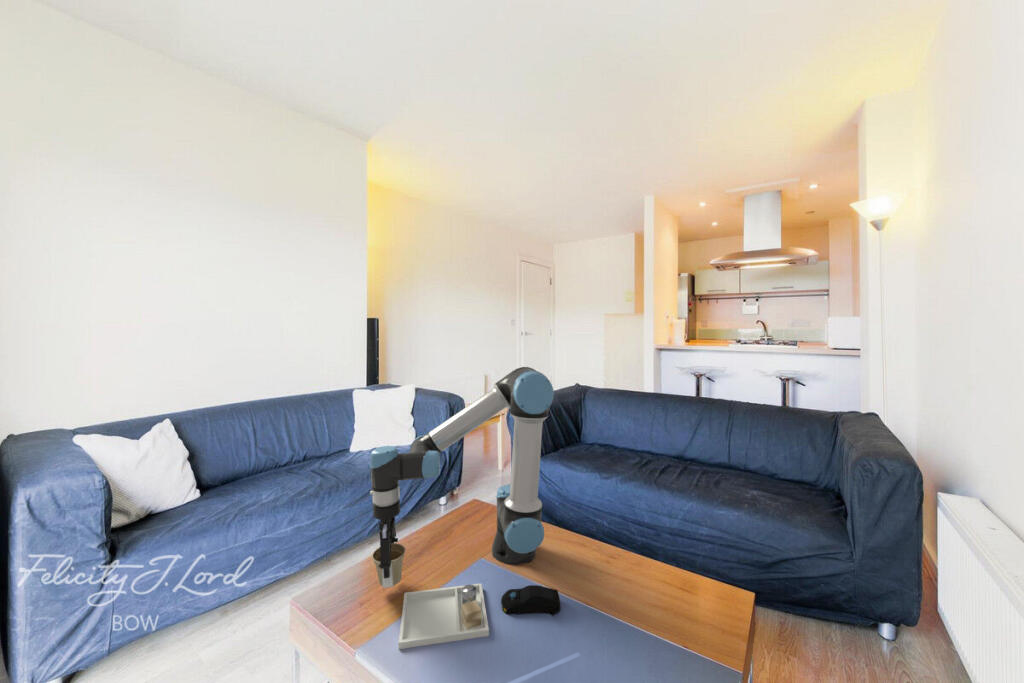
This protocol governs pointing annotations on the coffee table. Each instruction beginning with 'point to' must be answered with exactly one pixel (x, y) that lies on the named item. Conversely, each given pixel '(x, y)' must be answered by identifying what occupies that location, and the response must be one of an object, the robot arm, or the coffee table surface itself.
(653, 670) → the coffee table surface
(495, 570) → the coffee table surface
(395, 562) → the flower pot
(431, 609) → the tray
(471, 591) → the metal part
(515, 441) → the robot arm
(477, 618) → the beech part
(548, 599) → the toy car
